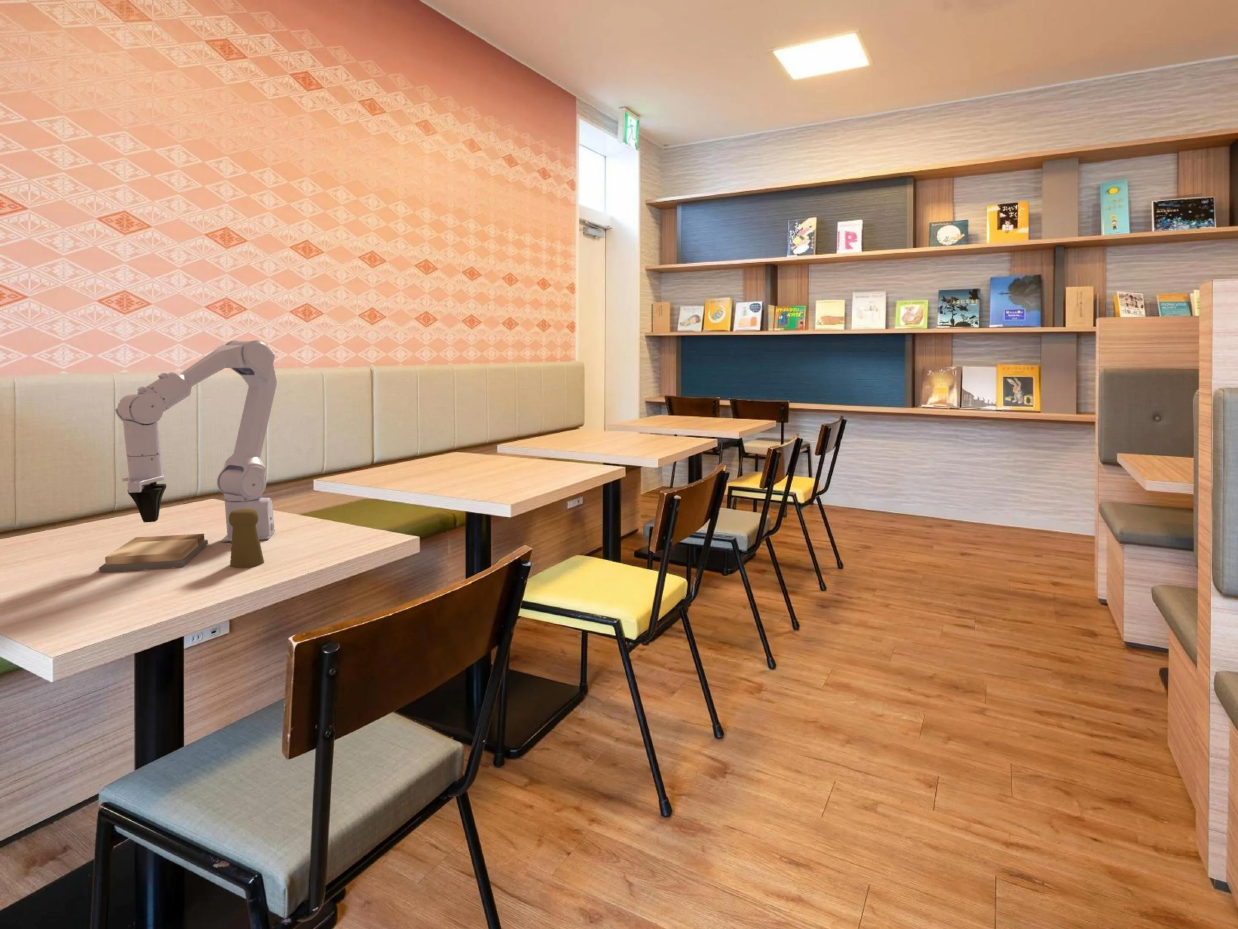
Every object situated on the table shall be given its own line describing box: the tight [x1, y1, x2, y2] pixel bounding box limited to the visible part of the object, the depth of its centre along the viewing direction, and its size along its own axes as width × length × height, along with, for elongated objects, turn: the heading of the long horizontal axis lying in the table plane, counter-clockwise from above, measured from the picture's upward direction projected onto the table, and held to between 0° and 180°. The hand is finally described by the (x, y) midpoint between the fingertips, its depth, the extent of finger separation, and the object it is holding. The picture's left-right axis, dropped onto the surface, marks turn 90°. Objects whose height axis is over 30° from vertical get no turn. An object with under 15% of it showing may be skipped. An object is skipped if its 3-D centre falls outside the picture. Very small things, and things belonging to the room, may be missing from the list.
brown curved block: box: [127, 533, 206, 546], centre depth 153 cm, size 13×4×2 cm, turn 105°
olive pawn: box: [229, 508, 265, 569], centre depth 142 cm, size 6×6×11 cm
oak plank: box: [104, 539, 198, 565], centre depth 145 cm, size 13×11×2 cm
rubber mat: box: [98, 539, 209, 573], centre depth 147 cm, size 14×18×1 cm
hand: (150, 521), depth 146 cm, fingers closed
